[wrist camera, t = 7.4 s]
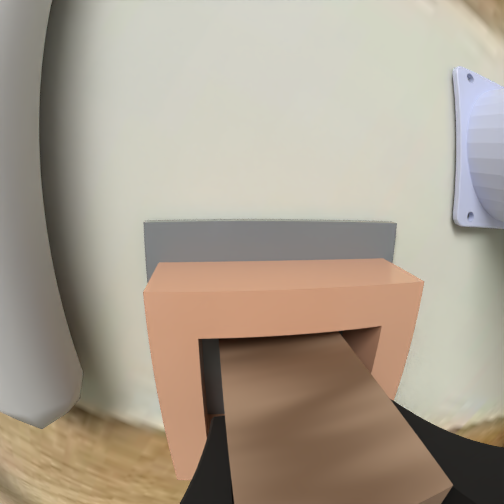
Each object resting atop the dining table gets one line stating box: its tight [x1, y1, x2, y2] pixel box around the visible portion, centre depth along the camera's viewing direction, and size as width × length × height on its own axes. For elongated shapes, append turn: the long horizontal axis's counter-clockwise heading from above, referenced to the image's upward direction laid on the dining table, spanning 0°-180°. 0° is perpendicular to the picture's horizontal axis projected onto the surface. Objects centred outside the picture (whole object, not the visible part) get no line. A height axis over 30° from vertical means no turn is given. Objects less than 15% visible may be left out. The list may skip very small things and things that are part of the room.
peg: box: [219, 331, 453, 504], centre depth 8 cm, size 4×4×8 cm
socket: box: [143, 219, 424, 480], centre depth 12 cm, size 10×12×3 cm
